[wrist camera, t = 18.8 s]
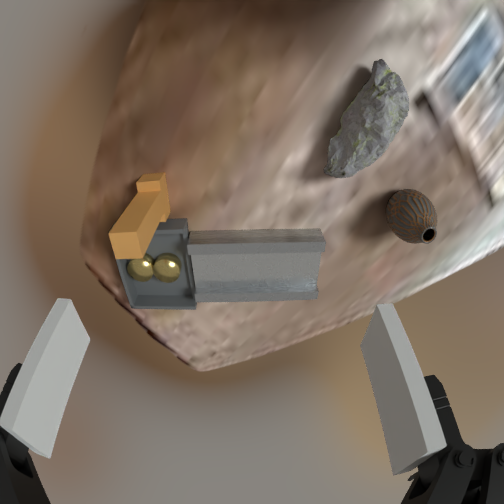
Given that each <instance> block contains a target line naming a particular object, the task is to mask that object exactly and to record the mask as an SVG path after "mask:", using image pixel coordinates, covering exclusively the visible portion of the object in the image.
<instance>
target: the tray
mask: <svg viewBox="0 0 504 504" xmlns="http://www.w3.org/2000/svg"><path fill="white" fill-rule="evenodd" d="M115 223H116V222H115ZM115 223H114V225H115ZM114 225H113V226H114ZM113 226H112V228H113ZM112 228H111V229H112ZM111 229H110V230H111ZM109 232H110V231H109ZM109 232H108V233H109ZM188 239H189V231H188V223H187V218H185V219H167V220H166V222H159V225H158V227H157V229H156V231H155V233H154V235H153V237H152V239H151V242H150V244H149V246H148V248H147V250H146V253H147V254H149V255H151V256H152V257H153V258H154V260H155V261H156V259H157V257H158V256H159V255H160V254H162V253H172V254H174V255H176V256H177V257H178V258H179V259H180V260H181V263H182V268H181V271H180V275H179V278H178V279H177V280H176V281H174V282H171V283H165V282H162V281H160V280H158V279H157V278H156V277H155V276H154V274H153V276H152V278H151V279H150V280H149V281H146V282H140V281H137V280H135V279H133V278H132V277H131V276H130V275H129V273H128V270H127V267H128V264H129V262H130V260H131V259H116V258H115V259H116V262H117V266H118V269H119V272H120V275H121V279H122V282H123V285H124V288H125V291H126V294H127V297H128V300H129V303H130V306H131V308H134V309H196V305H197V302H196V301H195V295H194V294H195V288H196V287H195V280H194V274H193V267H192V260H191V255H188V249H187V242H188ZM111 245H112V244H111ZM113 252H114V251H113ZM114 255H115V254H114Z"/></svg>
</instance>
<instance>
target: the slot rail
mask: <svg viewBox="0 0 504 504" xmlns="http://www.w3.org/2000/svg"><path fill="white" fill-rule="evenodd" d="M325 244H326V241H325V239H324V236H323V234H322V232H321V229H261V230H215V231H191V232H190V235H189V239H188V242H187V249H188V255H191V260H192V267H193V274H194V280H195V287H196V288H195V294H194V295H195V301H196V302H249V301H284V300H309V299H317V297H318V288H317V278H318V272H319V265H320V257H321V252H324V251H325Z"/></svg>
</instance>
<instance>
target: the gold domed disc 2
mask: <svg viewBox="0 0 504 504" xmlns="http://www.w3.org/2000/svg"><path fill="white" fill-rule="evenodd" d="M181 268H182V263H181V260H180V259H179V258H178V257H177V256H176V255H174V254H172V253H162V254H160V255H159V256H158V257H157V259H156V261H155V264H154V266H153V274H154V276H155V277H156V278H157V279H158V280H160V281H162V282H165V283H171V282H174V281H176V280H177V279H178V278H179V275H180V271H181Z"/></svg>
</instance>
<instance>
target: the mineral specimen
mask: <svg viewBox="0 0 504 504" xmlns="http://www.w3.org/2000/svg"><path fill="white" fill-rule="evenodd" d="M408 111H409V98H408V95H407V91H406V89H405V87H404V85H403V82H402V80H401V78H400V76H399V75H397V74H396V73H395V72H392V71H391V70H390V68H389V67H388V65H387V64H386V63H385V61H384V60H383V59H379V60H378V61H374V63H373V68H372V74H371V78H370V80H368V82H367V83H366V84H365V85H364V86H363V88H362V90H361V91H359V93H358V95H357V96H356V98H355V99H354V101H352V102H351V104H350V105H349V106H348V107H347V110H346V111H344V112H343V115H342V117H341V118H340V122H341V129H340V130H339V131H338V134H337V135H335V136H334V137H333V138H331V139H330V145H329V147H328V153H327V154H328V160H327V165H326V167H325V168H324V173H325V174H328V175H330V176H334V177H335V178H346V177H351V176H353V175H355V174H356V173H357V172H358V171H359V170H362V169H364V168H365V167H367V166H370V165H371V164H372V163H373V162H375V161H376V160H377V159H378V158H379V157H380V156H382V154H383V153H384V152H385V151H386V150H387V148H388V146H389V143H390V142H392V141H393V139H394V137H395V135H396V133H397V132H398V131H399V130H400V128H401V126H402V124H403V121H404V119H405V117H407V114H408Z"/></svg>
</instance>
